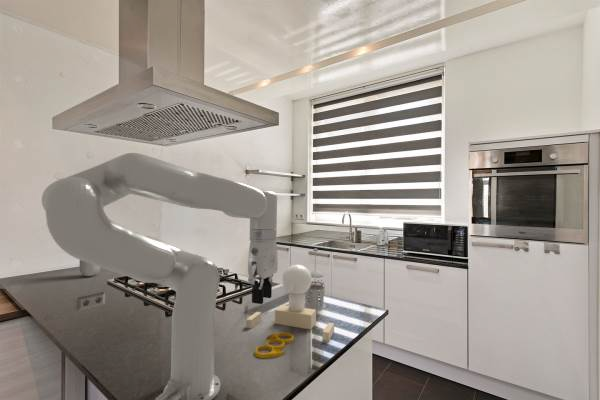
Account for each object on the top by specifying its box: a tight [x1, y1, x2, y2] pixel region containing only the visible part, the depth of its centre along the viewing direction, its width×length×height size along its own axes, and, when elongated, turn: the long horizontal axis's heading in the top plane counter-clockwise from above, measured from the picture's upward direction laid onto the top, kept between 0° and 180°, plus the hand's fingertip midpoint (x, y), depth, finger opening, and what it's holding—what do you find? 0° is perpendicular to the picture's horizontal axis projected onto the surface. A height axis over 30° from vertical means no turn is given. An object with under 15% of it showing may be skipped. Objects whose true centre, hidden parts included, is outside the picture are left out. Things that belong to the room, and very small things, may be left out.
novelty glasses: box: [254, 332, 295, 359], centre depth 93 cm, size 17×2×10 cm
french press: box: [305, 248, 327, 311], centre depth 129 cm, size 10×12×25 cm
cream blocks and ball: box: [245, 263, 335, 343], centre depth 109 cm, size 16×30×22 cm, turn 71°
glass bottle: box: [79, 260, 102, 277], centre depth 173 cm, size 10×10×28 cm
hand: (261, 299), depth 84 cm, fingers open, 4 cm apart
